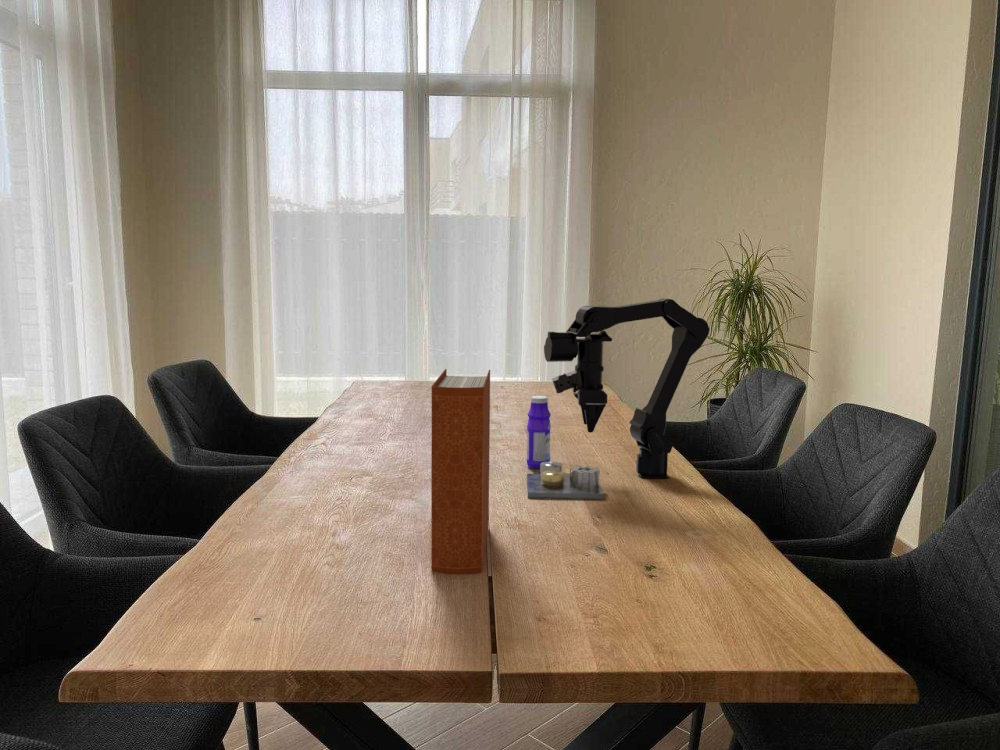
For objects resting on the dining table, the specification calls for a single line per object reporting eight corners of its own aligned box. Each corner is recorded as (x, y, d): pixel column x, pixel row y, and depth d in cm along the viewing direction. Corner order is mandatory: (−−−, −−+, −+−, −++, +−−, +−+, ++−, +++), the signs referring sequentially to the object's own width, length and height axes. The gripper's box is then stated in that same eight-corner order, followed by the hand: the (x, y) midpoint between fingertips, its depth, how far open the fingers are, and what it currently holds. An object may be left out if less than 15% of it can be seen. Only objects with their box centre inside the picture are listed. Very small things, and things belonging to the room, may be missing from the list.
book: (444, 527, 149) (445, 368, 145) (488, 528, 149) (490, 369, 145) (430, 574, 127) (430, 387, 123) (481, 575, 126) (483, 388, 123)
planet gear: (597, 481, 179) (597, 465, 179) (600, 488, 173) (600, 473, 172) (568, 480, 179) (569, 465, 179) (570, 488, 173) (571, 472, 172)
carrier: (595, 479, 185) (596, 460, 184) (603, 499, 169) (604, 478, 169) (526, 478, 185) (527, 459, 185) (528, 498, 169) (528, 477, 169)
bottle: (547, 470, 193) (549, 399, 191) (524, 469, 194) (525, 398, 192) (551, 463, 200) (553, 395, 198) (529, 462, 201) (530, 394, 199)
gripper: (552, 356, 192) (551, 420, 194) (557, 365, 173) (555, 436, 175) (598, 356, 191) (597, 420, 194) (608, 366, 173) (606, 436, 175)
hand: (588, 428), depth 184 cm, fingers open, 9 cm apart
